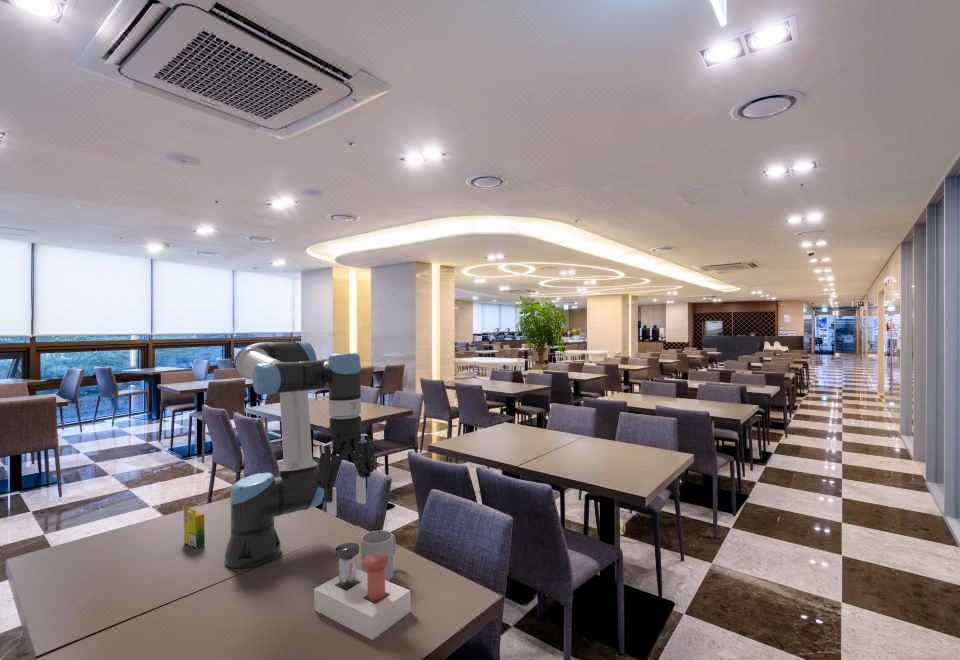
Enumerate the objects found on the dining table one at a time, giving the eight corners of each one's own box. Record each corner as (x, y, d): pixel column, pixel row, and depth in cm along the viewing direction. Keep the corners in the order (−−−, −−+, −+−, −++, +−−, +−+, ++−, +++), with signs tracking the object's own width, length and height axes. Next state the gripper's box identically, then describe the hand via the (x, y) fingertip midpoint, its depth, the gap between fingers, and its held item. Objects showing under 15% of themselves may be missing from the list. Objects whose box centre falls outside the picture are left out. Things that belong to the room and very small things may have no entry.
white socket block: (314, 610, 110) (314, 589, 110) (353, 586, 120) (353, 567, 120) (372, 640, 99) (371, 616, 99) (410, 611, 109) (410, 590, 109)
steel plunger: (331, 587, 111) (330, 549, 111) (349, 577, 116) (348, 540, 116) (346, 594, 108) (345, 555, 108) (364, 583, 113) (363, 546, 113)
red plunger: (358, 600, 106) (358, 560, 106) (377, 589, 110) (376, 550, 110) (375, 608, 103) (375, 567, 103) (393, 596, 107) (393, 556, 107)
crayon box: (205, 545, 146) (204, 508, 146) (195, 548, 143) (194, 511, 143) (193, 539, 150) (193, 504, 150) (183, 543, 147) (183, 506, 147)
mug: (380, 588, 119) (380, 546, 119) (354, 581, 122) (354, 540, 122) (407, 567, 129) (406, 528, 129) (382, 561, 133) (381, 523, 133)
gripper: (318, 425, 102) (320, 527, 101) (387, 410, 119) (389, 498, 119) (298, 421, 106) (299, 520, 106) (367, 408, 123) (369, 493, 123)
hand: (346, 508), depth 112 cm, fingers open, 8 cm apart
